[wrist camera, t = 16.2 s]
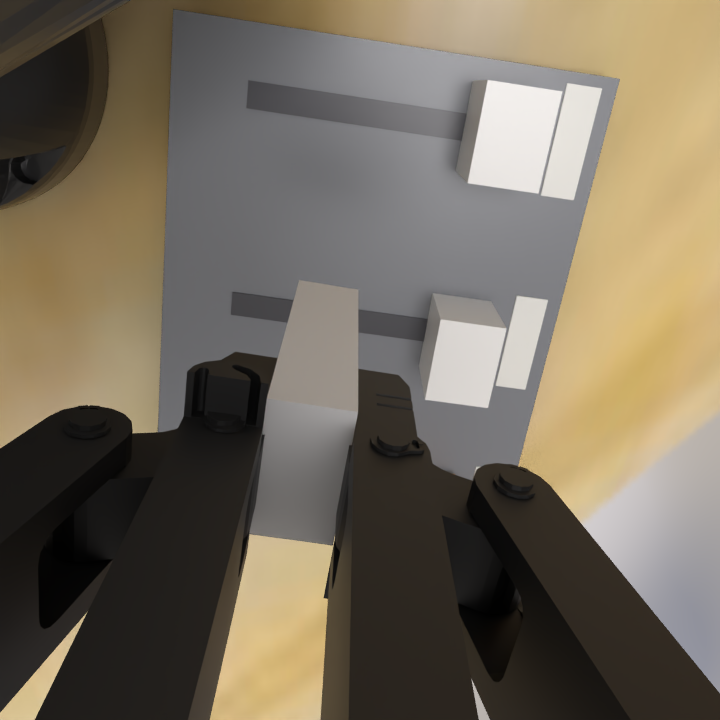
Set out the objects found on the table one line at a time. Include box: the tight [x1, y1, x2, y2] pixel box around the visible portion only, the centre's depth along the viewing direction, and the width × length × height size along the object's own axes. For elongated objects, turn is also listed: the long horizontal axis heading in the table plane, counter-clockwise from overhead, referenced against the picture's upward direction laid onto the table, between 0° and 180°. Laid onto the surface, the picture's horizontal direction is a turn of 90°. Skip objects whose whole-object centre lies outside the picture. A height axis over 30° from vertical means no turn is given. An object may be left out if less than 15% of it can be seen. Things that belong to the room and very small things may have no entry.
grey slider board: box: [158, 9, 620, 481], centre depth 34 cm, size 20×26×6 cm
